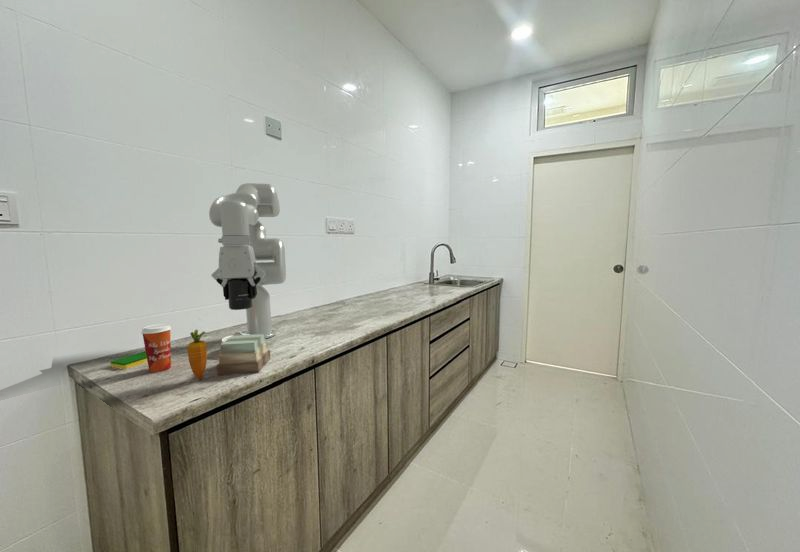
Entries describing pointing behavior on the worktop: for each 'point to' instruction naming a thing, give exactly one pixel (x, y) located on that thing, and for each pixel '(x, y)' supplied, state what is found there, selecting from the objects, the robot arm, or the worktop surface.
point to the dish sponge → (130, 361)
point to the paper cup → (157, 346)
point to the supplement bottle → (239, 294)
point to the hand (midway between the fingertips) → (240, 298)
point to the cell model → (232, 335)
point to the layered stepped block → (243, 354)
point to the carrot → (197, 354)
